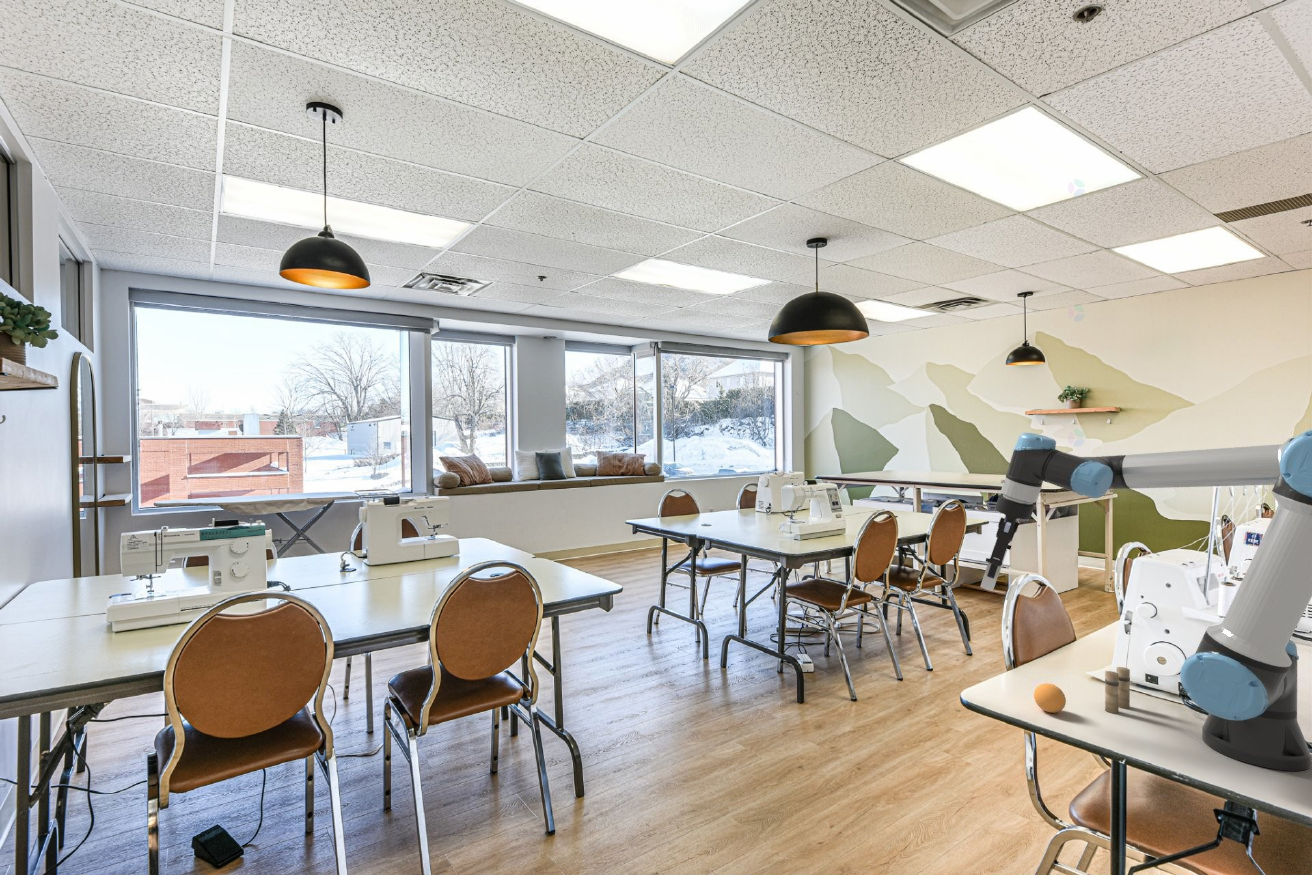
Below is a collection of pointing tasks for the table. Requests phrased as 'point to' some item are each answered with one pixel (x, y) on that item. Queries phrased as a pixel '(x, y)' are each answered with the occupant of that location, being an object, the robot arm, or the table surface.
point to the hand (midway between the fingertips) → (989, 580)
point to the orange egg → (1049, 698)
